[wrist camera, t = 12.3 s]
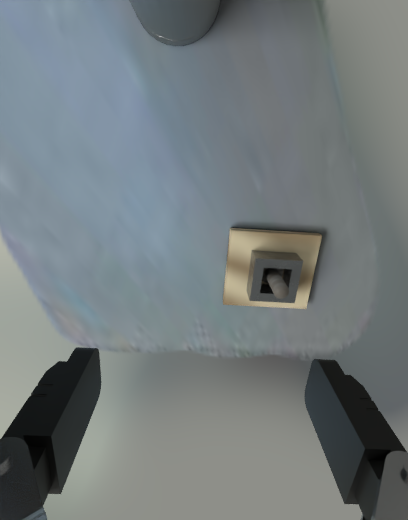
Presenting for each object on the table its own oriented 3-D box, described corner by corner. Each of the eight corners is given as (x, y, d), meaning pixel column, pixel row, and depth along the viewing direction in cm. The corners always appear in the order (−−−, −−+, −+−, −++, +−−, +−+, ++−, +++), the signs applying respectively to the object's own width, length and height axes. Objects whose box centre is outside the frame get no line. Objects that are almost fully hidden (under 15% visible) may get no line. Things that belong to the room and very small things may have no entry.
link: (251, 250, 40) (255, 258, 38) (296, 252, 41) (303, 261, 38) (246, 290, 43) (249, 300, 40) (288, 292, 43) (294, 303, 40)
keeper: (230, 227, 40) (236, 245, 34) (318, 233, 41) (341, 251, 34) (222, 300, 44) (226, 328, 38) (303, 304, 45) (321, 333, 38)
